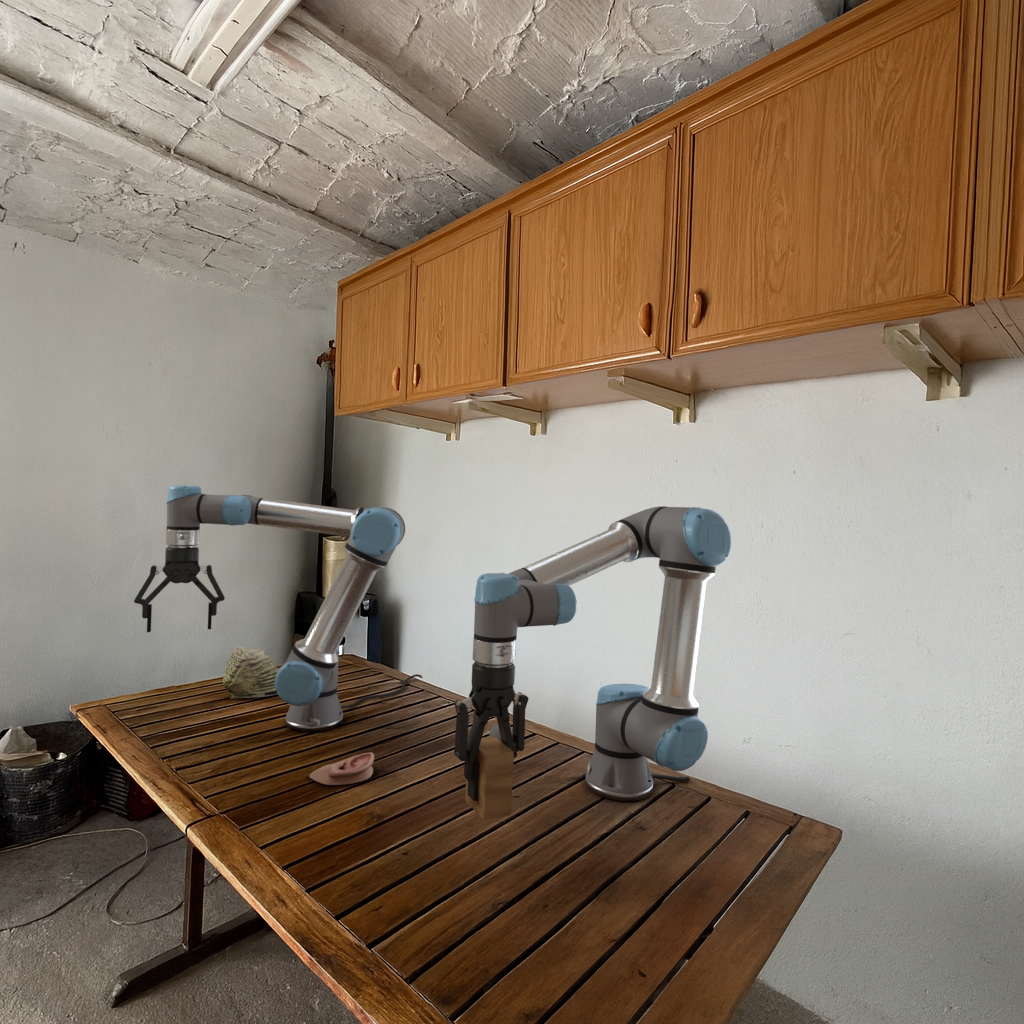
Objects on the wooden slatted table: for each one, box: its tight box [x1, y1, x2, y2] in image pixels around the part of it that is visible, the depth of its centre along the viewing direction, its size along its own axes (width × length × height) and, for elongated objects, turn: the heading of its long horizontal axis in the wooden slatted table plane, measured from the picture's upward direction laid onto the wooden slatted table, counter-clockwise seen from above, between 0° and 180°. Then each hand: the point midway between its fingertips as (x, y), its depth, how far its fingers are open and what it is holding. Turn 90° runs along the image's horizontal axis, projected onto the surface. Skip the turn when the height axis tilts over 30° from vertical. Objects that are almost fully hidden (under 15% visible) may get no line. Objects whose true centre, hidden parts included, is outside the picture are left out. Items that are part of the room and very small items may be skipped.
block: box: [464, 736, 515, 822], centre depth 111 cm, size 8×5×11 cm
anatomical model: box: [308, 751, 375, 786], centre depth 144 cm, size 13×4×12 cm
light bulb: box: [488, 722, 512, 742], centre depth 154 cm, size 6×6×10 cm
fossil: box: [222, 646, 280, 699], centre depth 198 cm, size 9×18×15 cm, turn 132°
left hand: (179, 629), depth 161 cm, fingers open, 13 cm apart
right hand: (487, 794), depth 111 cm, fingers closed on block, 5 cm apart
